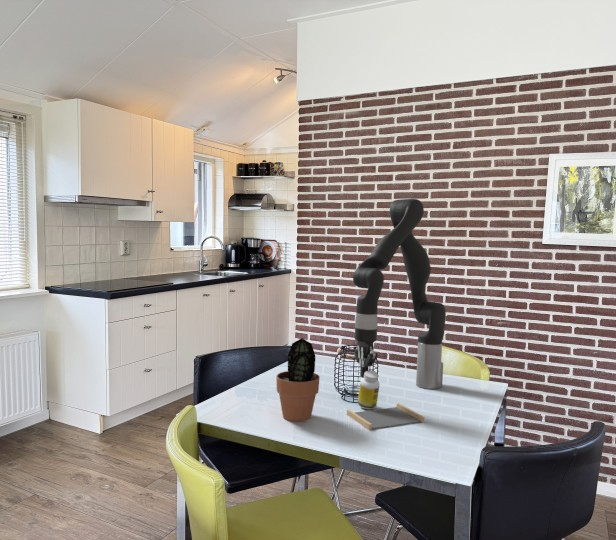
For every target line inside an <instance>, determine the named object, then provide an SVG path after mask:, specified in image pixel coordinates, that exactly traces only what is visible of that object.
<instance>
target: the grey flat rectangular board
mask: <svg viewBox="0 0 616 540" xmlns="http://www.w3.org/2000/svg"><path fill="white" fill-rule="evenodd" d="M346 415H347V416H348V417H349V416H350V417H349V418H351V419H353V420H354V421H355V422H357V423H358V424H360V425H361V426H363V427H364V428H366V429H367V430H369V431H371V430H378V429H384V428H385V429H386V428H391V427H400V426H404V425H405V426H407V425H411V424H419V423H425V416H424V415H422V414H420V413H418V412H416V411H414V410H413V409H410V408H408V407H407V406H405V405H404V404H402V403H400V402H399V403H396V406H395V407H388V408H386V407H385V408H379V409H369V410H364V411H362V410H361V411H355V412H354V411H353V410H352V409H346Z"/></svg>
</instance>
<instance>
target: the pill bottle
mask: <svg viewBox="0 0 616 540" xmlns="http://www.w3.org/2000/svg"><path fill="white" fill-rule="evenodd" d="M378 379H379V374H378V373H377V372H376V371H373V370H368V371H366V372H365V373H364V378H363V377H362V379H361V380H360V383H359V388H358V389H359V390H358V394H357V395H358V396H357V405H358V406H359V407H360V408H362V409H364V410H374V409H375V408H376V407H377V405H378V404H377V403H378V398H379V397H378V396H379V391H380V382H379V381H378Z"/></svg>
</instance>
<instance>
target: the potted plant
mask: <svg viewBox="0 0 616 540" xmlns="http://www.w3.org/2000/svg"><path fill="white" fill-rule="evenodd" d="M288 351H289V352H288V353H287V370H286V371H283V372H282V371H281V372H279V373H277V374H276V376H275V377H276V392H277V394H278V395H279V396H278V397H279V401H280V408H281V412H282V417H283V419H285V420H286V421H290V422H297V423H299V422H307V421H309V420H310V419H311V418H312V415H313V414H312V413H313V409H314V406H315V400H316V395H317V394H319V389H320V388H319V387H320V377H321V376H320V375H319V374H318V373H315V371H316V354H315V350H314V348H313V344H312V343H311V342H309V341H307V340H306V339H304V338H303V337H302V338H300V339H297V340H296V341H294V342H292V343H291V346H290V349H289V350H288Z"/></svg>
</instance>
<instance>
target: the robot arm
mask: <svg viewBox="0 0 616 540" xmlns="http://www.w3.org/2000/svg"><path fill="white" fill-rule="evenodd" d="M424 212H425V211H424V205H423V202H422V201H421V200H419V199H417V198H403V199H402V198H401V199H395V200H393V201H392V202H391V203H390V207H389V216H390V220H391V223H392V227H393V229H391V230H390V231H389V232H388V233H386V234H385V235H384V236H383V237H382V238H381V239H379V240H378V241H377V243H376V245H375V247H374V248H373V250H372V251H371V253H370V255H369V256H368V257H367V258H365V259H364V260H362V262H361V263H360V264H359V265H358V266H357V267H356V268H355V270H354V273H353V275H352V282H353V285H354V286H356V287H357V288H360V289H367V291H366V294H364V295H359V296H358V297H357V298H356V299H357V300H356V312H355V319H354V320H355V321H354V323H355V324H354V340H355V341H356V342H357V343H356V346H353V352H354V357H355V359H356V362H357V363H358V364H359V366H360V372H359V373H360V377H361V378H362V379H363V378H364V373H365V372H366V371H369V367H373V365H374V363H375V361H376V359H377V358H378V353H377V352H374V351H375V350H374V349H375V346H374V342H375V343H376V342H377V340H378V302H379V300H380V297H381V293H382V289H383V286H384V282H385V277H384V274H383V271H382V270H384V269H386V268H387V267H388V266H389V264H390V262H391V261H392V259H393V257H394V255H395V254H396V252H397V250H398V249H399V248H400V252H401V255H402V259H403V264H404V269H405V272H406V276H407V281H408V284H409V288H410V289H409V290H410V293H411V301H412V309H413V314H414V318H415V320H416V321H417V322H418V323H419V324H421V325H425V326H426V325H427V326H429V327H428V330H427V331H426V332H422V333H419V335H418V336H417V352H416V353H417V357H416V358H417V359H416V376H415V377H416V378H415V380H416V381H415V385H416V386H417V387H419V388H422V389H429V390H436V389H439V388H441V387H443V381H444V380H443V378H444V377H443V376H444V362H443V361H442V357H443V356H442V353H443V352H442V351H443V339H444V335H445V330H446V329H445V327H446V319H447V318H446V317H447V314H446V313H447V312H446V307H445V305H444V304H443V303H441V302H437V301H429V299H428V298H427V293H426V286H427V283H428V281H429V279H430V276H431V272H432V268H431V264H430V259H429V255H428V253H427V250H426V249H425V248H424V247H423V245H422V244H421V243H420V242H419V240H418V239H417V238H416V237H415V236H414V234H413V230H414V229H415V228H416V227H417V226H418V225H419V223H420V222H421V221H422V220H423V217H424Z"/></svg>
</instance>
